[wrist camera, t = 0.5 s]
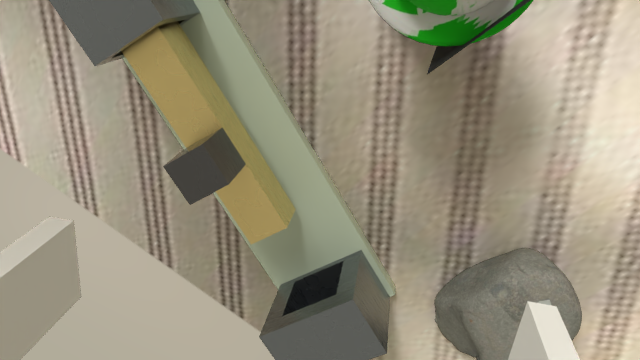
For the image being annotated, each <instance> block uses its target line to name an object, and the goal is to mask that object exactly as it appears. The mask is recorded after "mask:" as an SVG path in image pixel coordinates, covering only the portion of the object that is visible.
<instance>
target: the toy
mask: <svg viewBox="0 0 640 360" xmlns="http://www.w3.org/2000/svg"><path fill="white" fill-rule="evenodd" d="M369 1H370V3H371V4H372V6H373V7H374V9H375V10H376V12H377V13H378V14H379V15H380V16H381V18H382V19H383V20H384V21H385V22H387V23H388V24H389V25H390V26H391V27H392V28H394V29H395V30H396V31H398V32H399V33H401V34H403V35H405V36H406V37H408V38H411V39H413V40H415V41H418V42H421V43H425V44H429V45H435V46H437V47H436V50H435V53H434V56H433V59H432V61H431V64H430V67H429V70H428V73H430V72H431V71H433V70H434V69H435V68H437V67H438V66H440V65H441V64H442V63H444V62H445V61H447V60H448V59H449V58H451V57H452V56H454V55H455V54H456V53H458V52H459V51H461V50H462V49H463V48H465V47H466V46H468V45H469V44H470V43H475V42H478V41H481V40H483V39H486V38H488V37H490V36H492V35H494V34H496V33H498V32H500V31H501V30H503V29H504V28H506V27H507V26H509V25H510V24H511V23H512V22H514V21H515V20H516V19H517V18H518V17H519V16H520V15H521V14H522V13H523V12H524V11H525V10H526V9H527V8H528V7H529V5H530V4H531V3H532V1H533V0H369ZM428 73H427V74H428Z"/></svg>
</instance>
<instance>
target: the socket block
mask: <svg viewBox="0 0 640 360" xmlns="http://www.w3.org/2000/svg"><path fill="white" fill-rule="evenodd" d="M389 304H390V296H389V295H388V293H387V291H386V290H385V288H384V286H383V285H382V283H381V281H380V280H379V278H378V276H377V275H376V273H375V271H374V270H373V268H372V267H371V265H370V263H369V262H368V260H367V258H366V257H365V255H364V253H363V252H362V250H360V251H357V252H355V253H353V254H350V255H348V256H346V257H343V258H341V259H339V260H336V261H334V262H332V263H329V264H327V265H325V266H322V267H320V268H318V269H315V270H313V271H311V272H308V273H306V274H304V275H302V276H299V277H297V278H295V279H292V280H290V281H288V282H285V283H283V284H281V285H280V287H279V290H278V292H277V295H276V297H275V300H274V302H273V304H272V307H271V309H270V312H269V314H268V317H267V319H266V322H265V324H264V327H263V329H262V331H261V334H260V336H259V337H260V339H261V340H262V342H263V343H264V344H265V346H266V347H267V349H268V350H269V351H270V353H271V354H272V356H273V357H274V359H275V360H369V359H372V358H375V357H378V356H381V355H383V354H386V353H387V340H388V322H389Z"/></svg>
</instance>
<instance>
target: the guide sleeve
mask: <svg viewBox="0 0 640 360" xmlns="http://www.w3.org/2000/svg"><path fill="white" fill-rule="evenodd" d="M49 1H50V2H51V4H52V5H53V6H54V8H55V9H56V11H57V12H58V14H59V15H60V17H61V18H62V19H63V21H64V22H65V24H66V25H67V27H68V28H69V30H70V31H71V32H72V34H73V35H74V37H75V38H76V40H77V41H78V43H79V44H80V46H81V47H82V48H83V50H84V51H85V53H86V54H87V56H88V57H89V59H90V60H91V61H92V63H93V64H94V66H98V65H101V64H104V63H108V62H111V61H114V60H118V59H121V58H124V57H125V56H124V54H123V53H122V52H121V51H122V50H123V49H125V48H126V47H128V46H129V45H131V44H132V43H134V42H135V41H136V40H138V39H139V38H141V37H142V36H144V35H145V34H147V33H148V32H150V31H151V30H153V29H154V28H155V27H157V26H158V25H162V24H167V23H171V22H176V21H178V23H179V25H180V26H181V25H183V24H184V23H186V22H187V21H188V20H190V19H191V18H193V17H194V16H196V15H197V14H199V13H200V11H199V9H198V7H197V6H196V4H195V2H194V1H193V0H49Z"/></svg>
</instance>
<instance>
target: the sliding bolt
mask: <svg viewBox="0 0 640 360" xmlns="http://www.w3.org/2000/svg"><path fill="white" fill-rule="evenodd" d="M121 52H122V53H123V54H124V56H125V57H126V59H127V60H128V62H129V63H130V65H131V66H132V68H133V69H134V71H135V72H136V74H137V75H138V77H139V78H140V80H141V81H142V83H143V84H144V86H145V87H146V89H147V90H148V92H149V93H150V95H151V96H152V98H153V99H154V101H155V102H156V104H157V105H158V107H159V108H160V110H161V111H162V113H163V114H164V116H165V117H166V119H167V120H168V122H169V123H170V124H171V126H172V127H173V129H174V130H175V132H176V133H177V135H178V136H179V138H180V139H181V141H182V142H183V144H184V145H185V147H186V149H184V150H183V151H182V152H181V153H179V154H178V155H177V156H176V157H174V158H173V159H172V160H171V161H169V162H168V163H167V164H166V165H164V166H163V167H164V168H165V170H166V171H167V172H168V174H169V175H170V177H171V178H172V180H173V181H174V183H175V184H176V185H177V187H178V188H179V190H180V191H181V193H182V194H183V196H184V197H185V198H186V200H187V201H188V203H189V204H190V205H191V204H193V203H195V202H196V201H198V200H200V199H202V198H204V197H206V196H208V195H210V194H212V193H214V192H216V193H217V195H218V196H219V197H220V199H221V200H222V202H223V203H224V205H225V206H226V208H227V209H228V211H229V212H230V214H231V215H232V217H233V218H234V220H235V221H236V223H237V224H238V226H239V227H240V229H241V230H242V232H243V233H244V235H245V236H246V238H247V239H248V241H249V242H250V244H251V245H252V244H254V243H256V242H258V241H260V240H262V239H264V238H266V237H269V236H271V235H273V234H275V233H277V232H279V231H281V230H283V229H286V228H287V227H288V225H289V223H290V220H291V218H292V216H293V214H294V212H295V210H296V209H295V207H294V205H293V204H292V202H291V201H290V199H289V197H288V196H287V194H286V193H285V191H284V190H283V188H282V186H281V185H280V183H279V182H278V180H277V178H276V177H275V175H274V174H273V172H272V170H271V169H270V167H269V166H268V164H267V163H266V161H265V159H264V158H263V156H262V155H261V153H260V151H259V150H258V148H257V147H256V145H255V144H254V142H253V140H252V139H251V137H250V136H249V134H248V132H247V131H246V129H245V128H244V126H243V124H242V123H241V121H240V120H239V118H238V117H237V115H236V113H235V112H234V110H233V109H232V107H231V105H230V104H229V102H228V101H227V99H226V98H225V96H224V94H223V93H222V91H221V90H220V88H219V86H218V85H217V83H216V82H215V80H214V78H213V77H212V75H211V74H210V72H209V71H208V69H207V67H206V66H205V64H204V63H203V61H202V59H201V58H200V56H199V55H198V53H197V52H196V50H195V48H194V47H193V45H192V44H191V42H190V40H189V39H188V37H187V36H186V34H185V32H184V31H183V29H182V28H181V26H180V25H179V23H178V21H176V22H171V23H167V24H162V25H158V26H157V27H155V28H154V29H153V30H151V31H150V32H148V33H147V34H145V35H144V36H142V37H141V38H139V39H138V40H136V41H135V42H134V43H132V44H131V45H129V46H128V47H126V48H125V49H123V50H122V51H121Z"/></svg>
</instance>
